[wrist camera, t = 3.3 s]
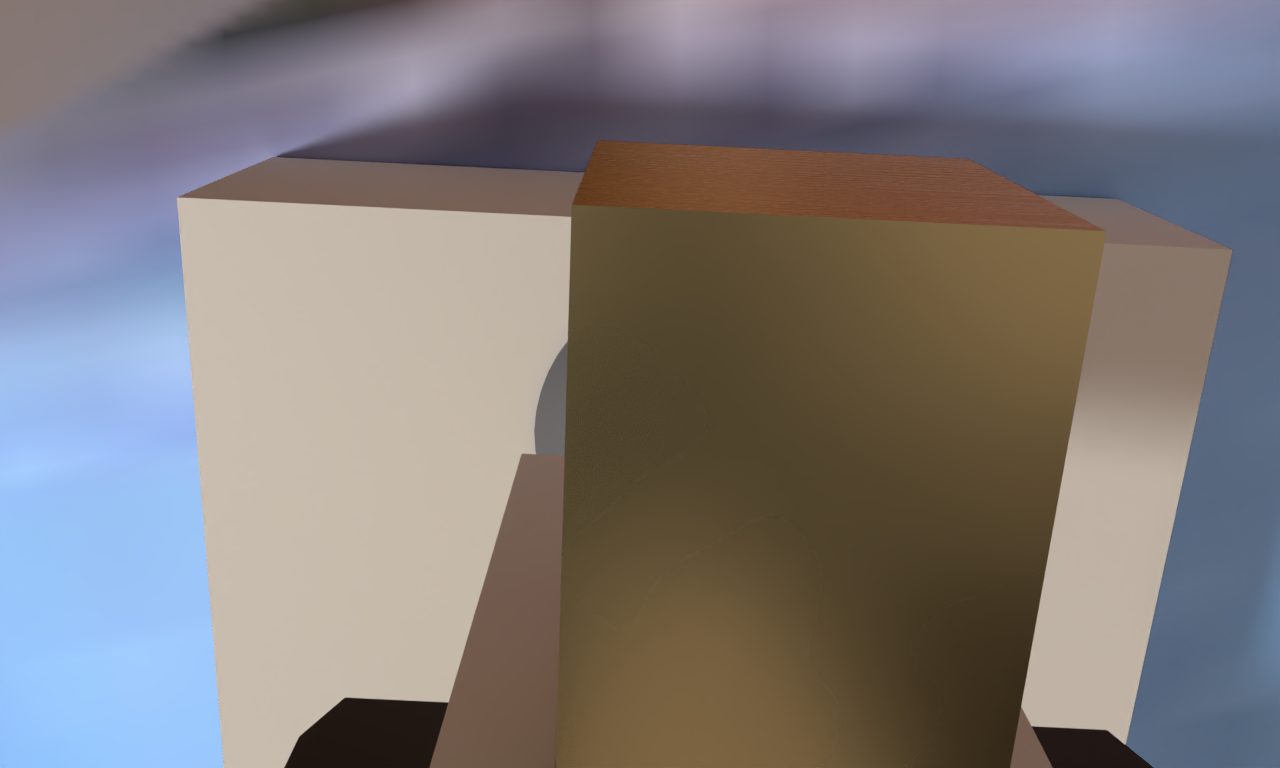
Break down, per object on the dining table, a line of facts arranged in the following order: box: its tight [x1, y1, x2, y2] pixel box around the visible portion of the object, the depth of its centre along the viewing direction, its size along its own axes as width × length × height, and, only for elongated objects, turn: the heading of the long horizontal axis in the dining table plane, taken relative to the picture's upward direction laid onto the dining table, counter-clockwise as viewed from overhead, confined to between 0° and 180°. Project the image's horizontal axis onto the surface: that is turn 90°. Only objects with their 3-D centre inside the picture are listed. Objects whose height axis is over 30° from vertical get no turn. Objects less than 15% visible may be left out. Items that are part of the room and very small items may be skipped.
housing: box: [177, 157, 1233, 768], centre depth 20 cm, size 19×14×4 cm
